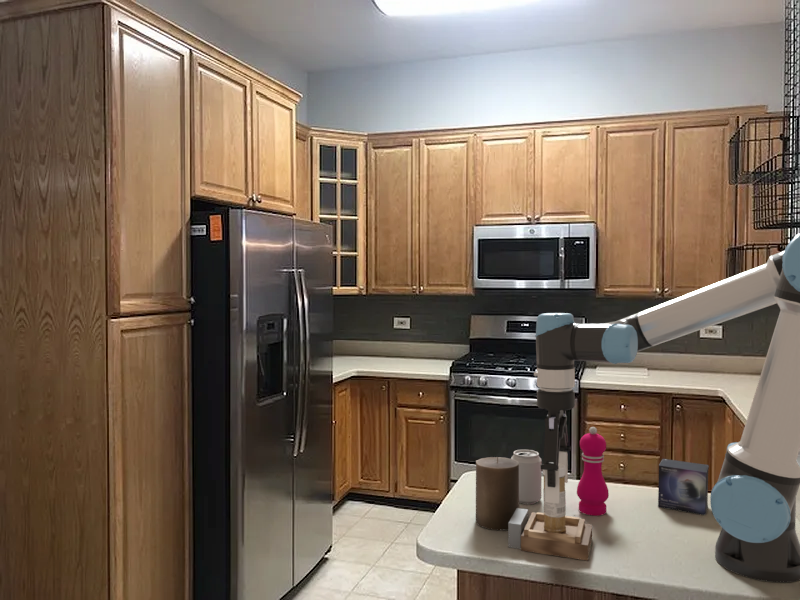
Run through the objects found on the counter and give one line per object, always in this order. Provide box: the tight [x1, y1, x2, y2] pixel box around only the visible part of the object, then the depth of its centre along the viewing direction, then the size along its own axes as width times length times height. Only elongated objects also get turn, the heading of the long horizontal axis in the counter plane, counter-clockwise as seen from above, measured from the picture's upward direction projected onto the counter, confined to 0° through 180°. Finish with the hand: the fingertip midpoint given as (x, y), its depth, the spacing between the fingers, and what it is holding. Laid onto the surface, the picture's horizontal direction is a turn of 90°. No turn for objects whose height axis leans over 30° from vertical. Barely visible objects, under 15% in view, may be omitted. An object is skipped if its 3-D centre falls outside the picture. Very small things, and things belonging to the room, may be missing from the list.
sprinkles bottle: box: [542, 463, 567, 533], centre depth 131 cm, size 5×5×13 cm
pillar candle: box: [475, 456, 520, 531], centre depth 143 cm, size 10×10×15 cm
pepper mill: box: [576, 426, 610, 517], centre depth 150 cm, size 7×7×20 cm
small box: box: [657, 458, 710, 516], centre depth 152 cm, size 11×6×10 cm, turn 60°
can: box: [510, 449, 543, 505], centre depth 158 cm, size 8×8×12 cm
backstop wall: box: [507, 507, 529, 550], centre depth 134 cm, size 2×9×5 cm, turn 159°
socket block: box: [520, 511, 593, 561], centre depth 131 cm, size 13×11×4 cm
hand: (556, 491), depth 131 cm, fingers open, 13 cm apart
